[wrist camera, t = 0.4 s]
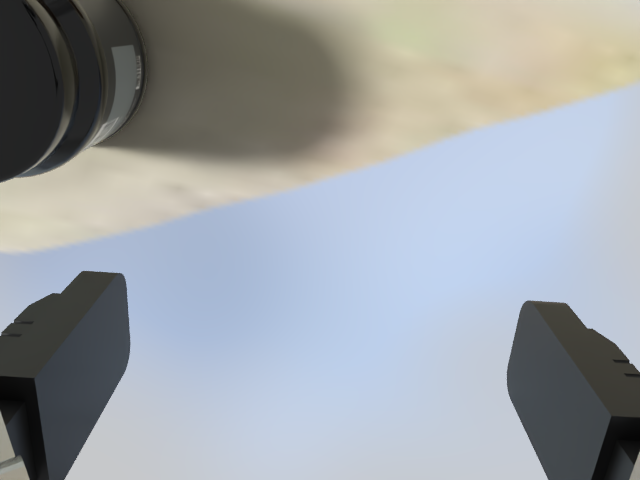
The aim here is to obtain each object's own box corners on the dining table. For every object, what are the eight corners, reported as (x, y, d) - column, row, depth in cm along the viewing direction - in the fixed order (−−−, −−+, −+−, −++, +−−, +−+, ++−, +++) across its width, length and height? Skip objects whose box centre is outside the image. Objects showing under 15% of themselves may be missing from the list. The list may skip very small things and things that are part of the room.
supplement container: (-20, -57, 33) (-200, -98, 21) (163, -13, 33) (83, -30, 22) (-22, 124, 36) (-176, 170, 25) (143, 160, 37) (66, 220, 26)
